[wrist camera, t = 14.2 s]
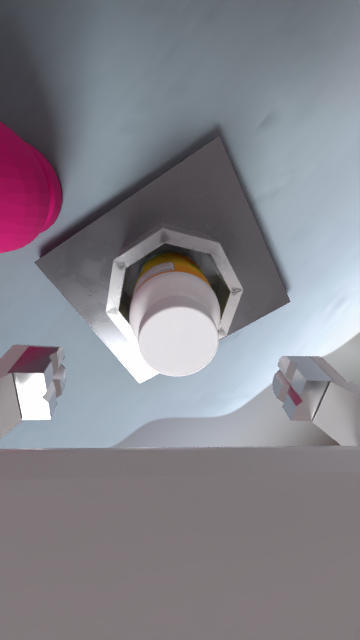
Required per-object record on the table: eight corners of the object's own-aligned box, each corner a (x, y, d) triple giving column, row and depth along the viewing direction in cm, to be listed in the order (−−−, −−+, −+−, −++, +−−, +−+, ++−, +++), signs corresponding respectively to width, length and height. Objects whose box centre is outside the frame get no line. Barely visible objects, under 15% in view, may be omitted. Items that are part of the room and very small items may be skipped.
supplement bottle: (212, 296, 22) (248, 362, 13) (156, 323, 23) (156, 402, 14) (185, 237, 20) (208, 270, 11) (124, 269, 20) (100, 323, 12)
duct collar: (140, 377, 26) (136, 414, 22) (39, 259, 21) (6, 277, 16) (285, 297, 24) (315, 321, 19) (216, 138, 18) (235, 119, 14)
